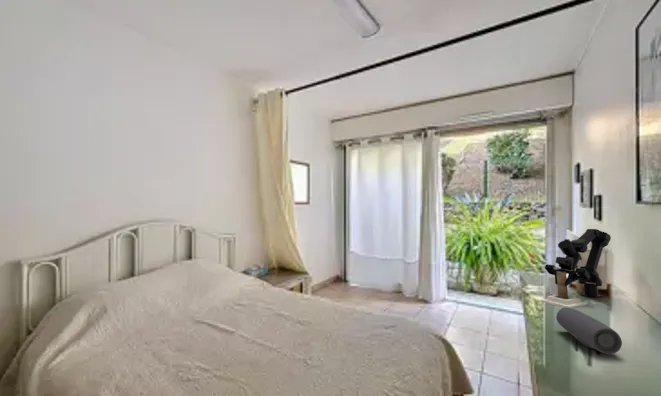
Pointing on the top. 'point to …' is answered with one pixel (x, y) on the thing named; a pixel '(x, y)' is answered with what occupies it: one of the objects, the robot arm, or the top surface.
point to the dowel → (562, 284)
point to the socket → (564, 301)
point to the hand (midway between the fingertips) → (560, 284)
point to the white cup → (552, 285)
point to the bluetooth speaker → (589, 331)
